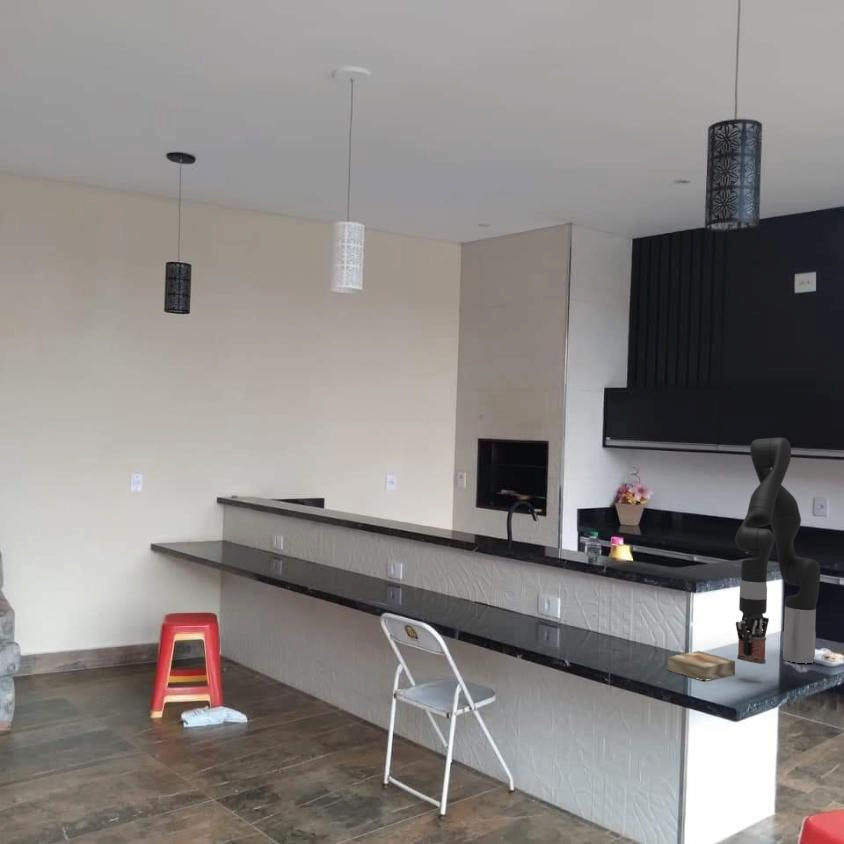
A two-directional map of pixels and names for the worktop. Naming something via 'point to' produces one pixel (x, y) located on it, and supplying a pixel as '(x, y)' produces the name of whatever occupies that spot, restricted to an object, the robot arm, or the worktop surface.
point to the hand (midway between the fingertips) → (751, 653)
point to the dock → (701, 665)
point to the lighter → (754, 648)
